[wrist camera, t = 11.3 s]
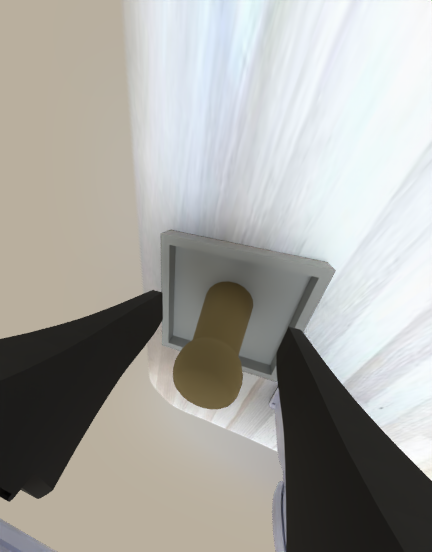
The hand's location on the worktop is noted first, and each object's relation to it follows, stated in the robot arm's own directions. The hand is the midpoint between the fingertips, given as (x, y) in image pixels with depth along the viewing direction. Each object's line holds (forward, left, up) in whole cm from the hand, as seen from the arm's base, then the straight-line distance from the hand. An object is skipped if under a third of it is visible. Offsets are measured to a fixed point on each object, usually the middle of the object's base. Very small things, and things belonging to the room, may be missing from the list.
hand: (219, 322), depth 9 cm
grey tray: (-7, 0, -10) cm, 12 cm away
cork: (-6, 0, -10) cm, 11 cm away
